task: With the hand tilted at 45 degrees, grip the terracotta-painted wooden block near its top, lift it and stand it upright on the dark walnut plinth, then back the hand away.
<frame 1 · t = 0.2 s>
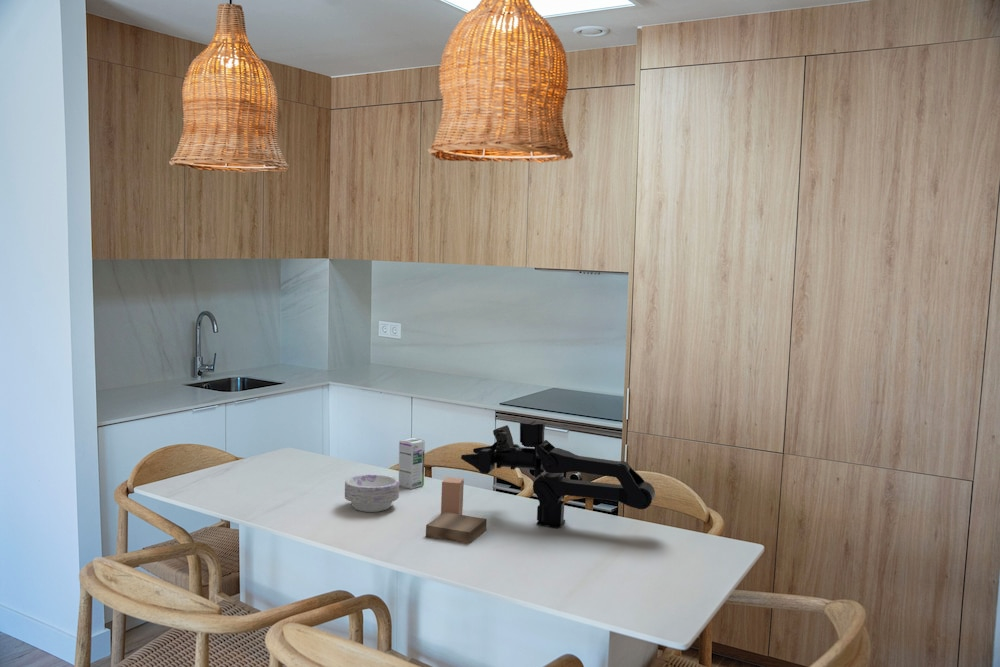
hand: (467, 453, 229), 17 cm above the table, fingers open, 9 cm apart
walnut plinth: (456, 533, 212), on the table
terracotta block: (451, 515, 226), on the table
paper bowls: (371, 508, 230), on the table
syrup box: (410, 486, 254), on the table
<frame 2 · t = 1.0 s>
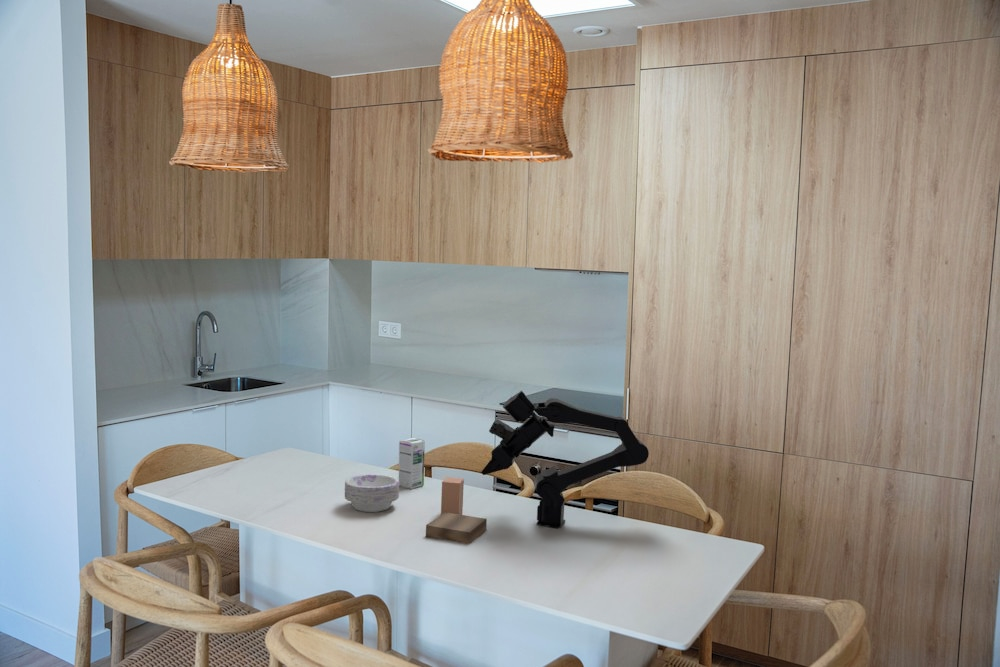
hand: (485, 469, 224), 14 cm above the table, fingers open, 9 cm apart
nothing on the table moved.
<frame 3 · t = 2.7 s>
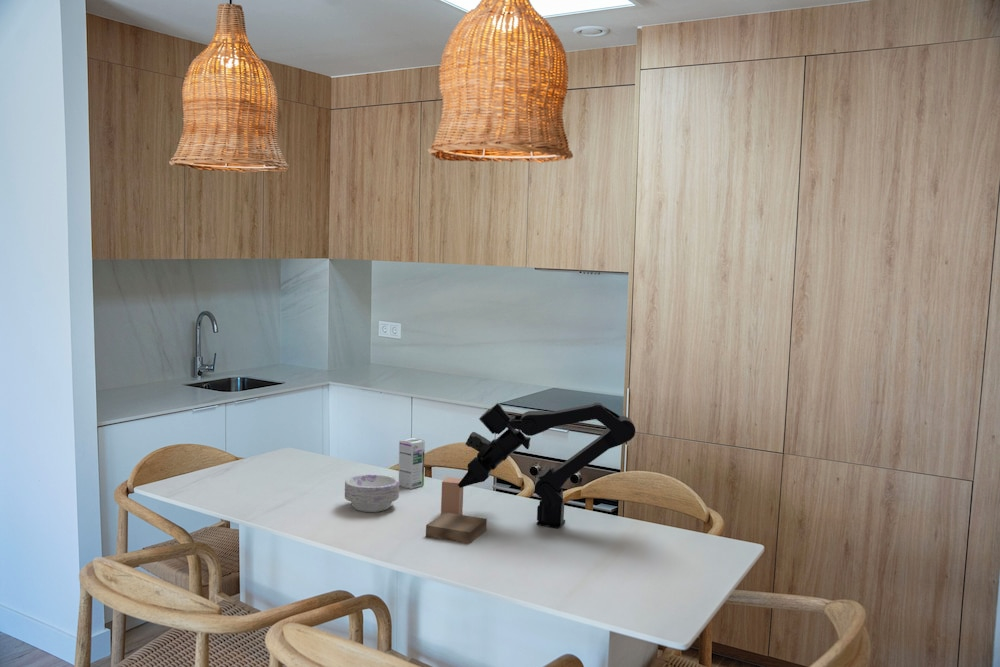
hand: (462, 481, 225), 10 cm above the table, fingers open, 9 cm apart
nothing on the table moved.
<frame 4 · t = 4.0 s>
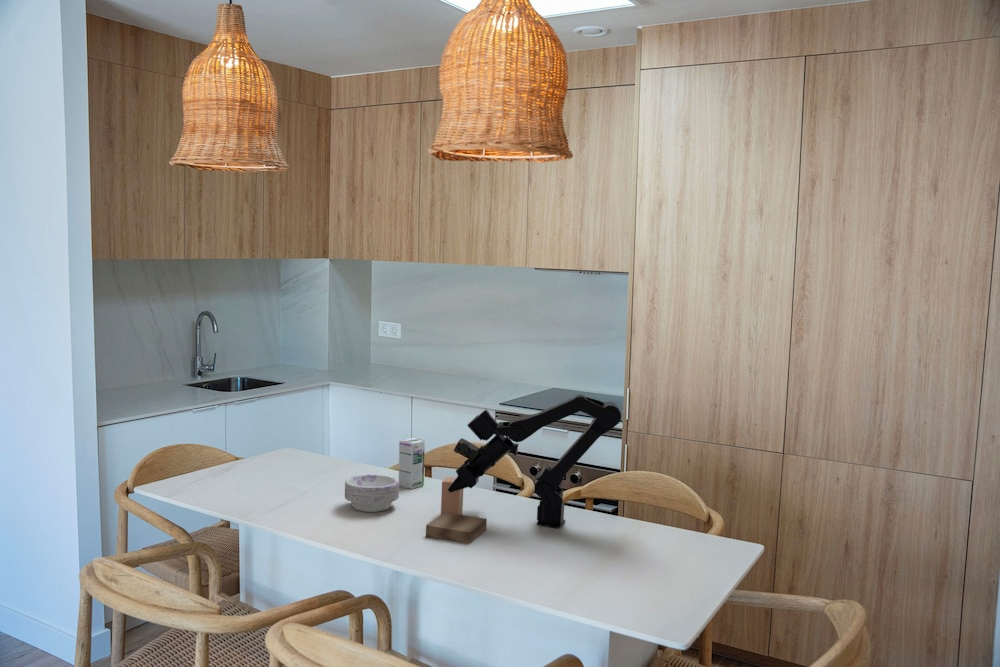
hand: (451, 488, 226), 8 cm above the table, fingers closed on terracotta block, 5 cm apart
terracotta block: (451, 515, 226), on the table, touching gripper
everything else where it was.
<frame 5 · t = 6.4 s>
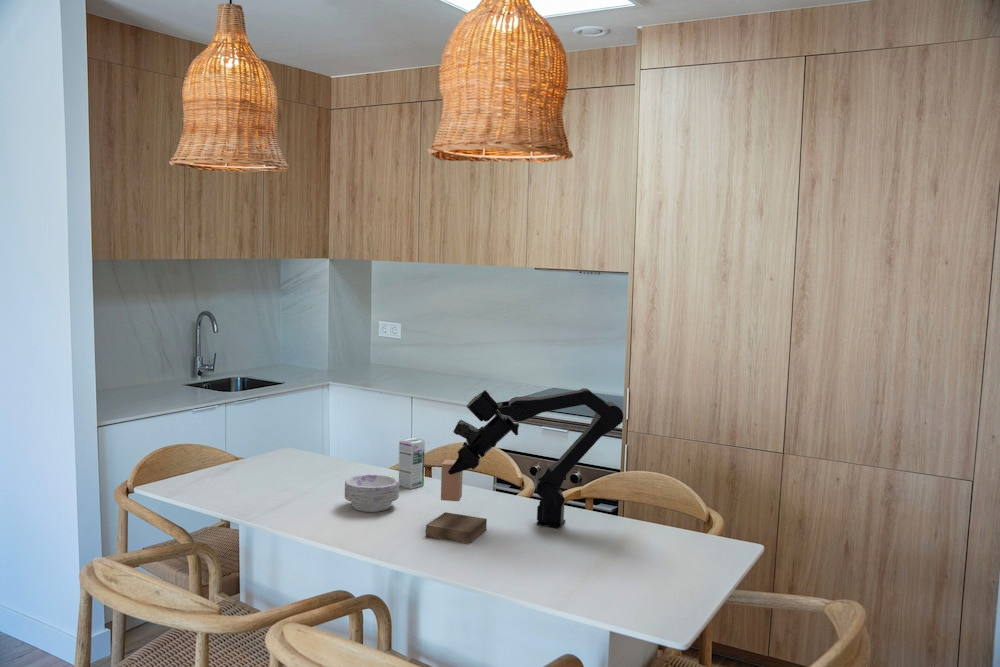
hand: (450, 470, 222), 13 cm above the table, fingers closed on terracotta block, 5 cm apart
terracotta block: (451, 498, 223), point 6 cm above the table, touching gripper
everything else where it was.
when the fingers open (11 cm above the table, at t = 8.8 s): terracotta block stays where it is, resting on walnut plinth.
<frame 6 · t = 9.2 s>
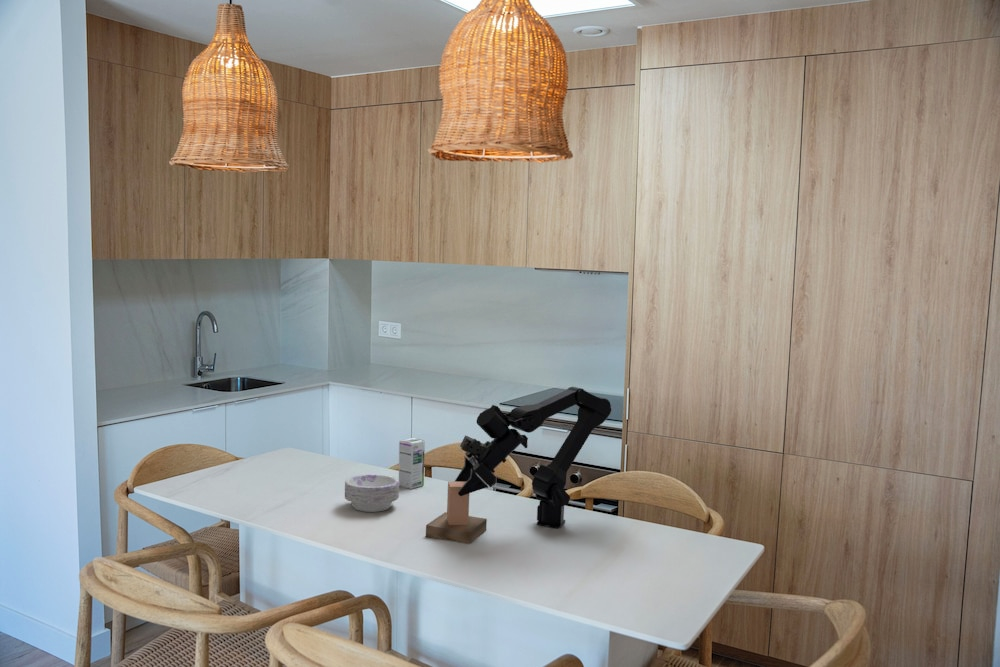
hand: (456, 489, 211), 12 cm above the table, fingers open, 9 cm apart
terracotta block: (457, 521, 212), point 3 cm above the table, touching walnut plinth
everything else where it was.
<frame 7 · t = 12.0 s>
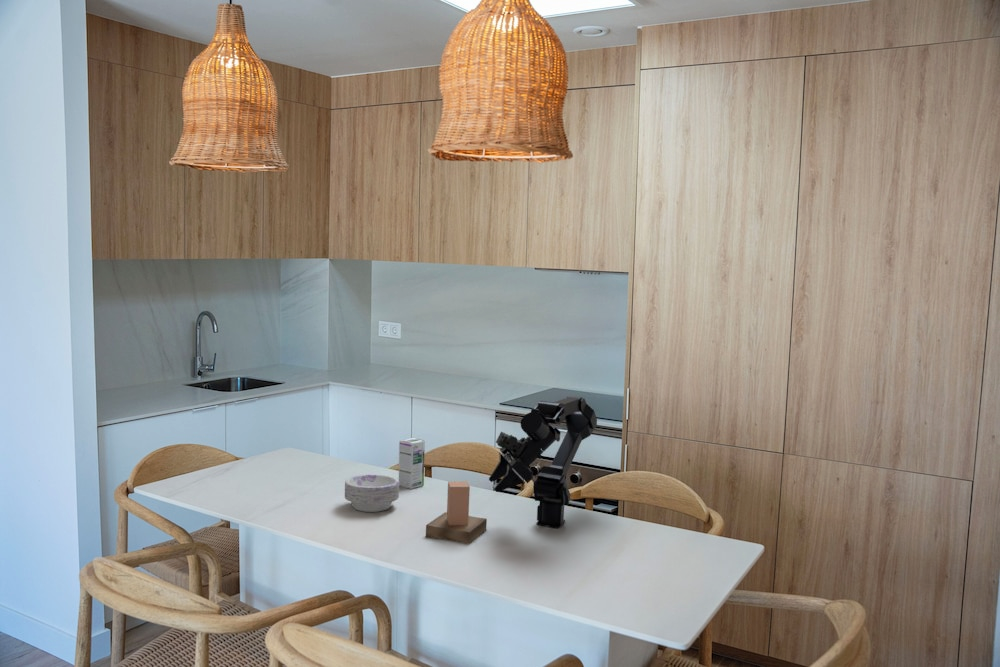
hand: (492, 485, 212), 13 cm above the table, fingers open, 9 cm apart
nothing on the table moved.
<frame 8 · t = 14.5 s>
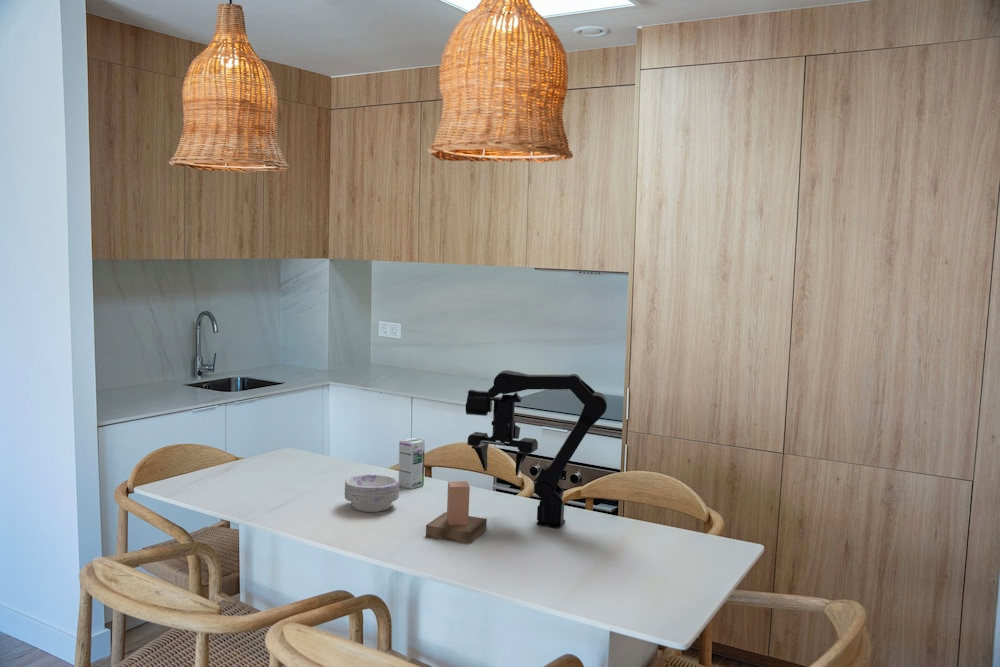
hand: (501, 473, 224), 13 cm above the table, fingers open, 9 cm apart
nothing on the table moved.
at the end: terracotta block inside the target area on the walnut plinth (0.1 cm from its centre), point 3.0 cm above the walnut plinth's base; terracotta block tilted 0°; the gripper is holding nothing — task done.
